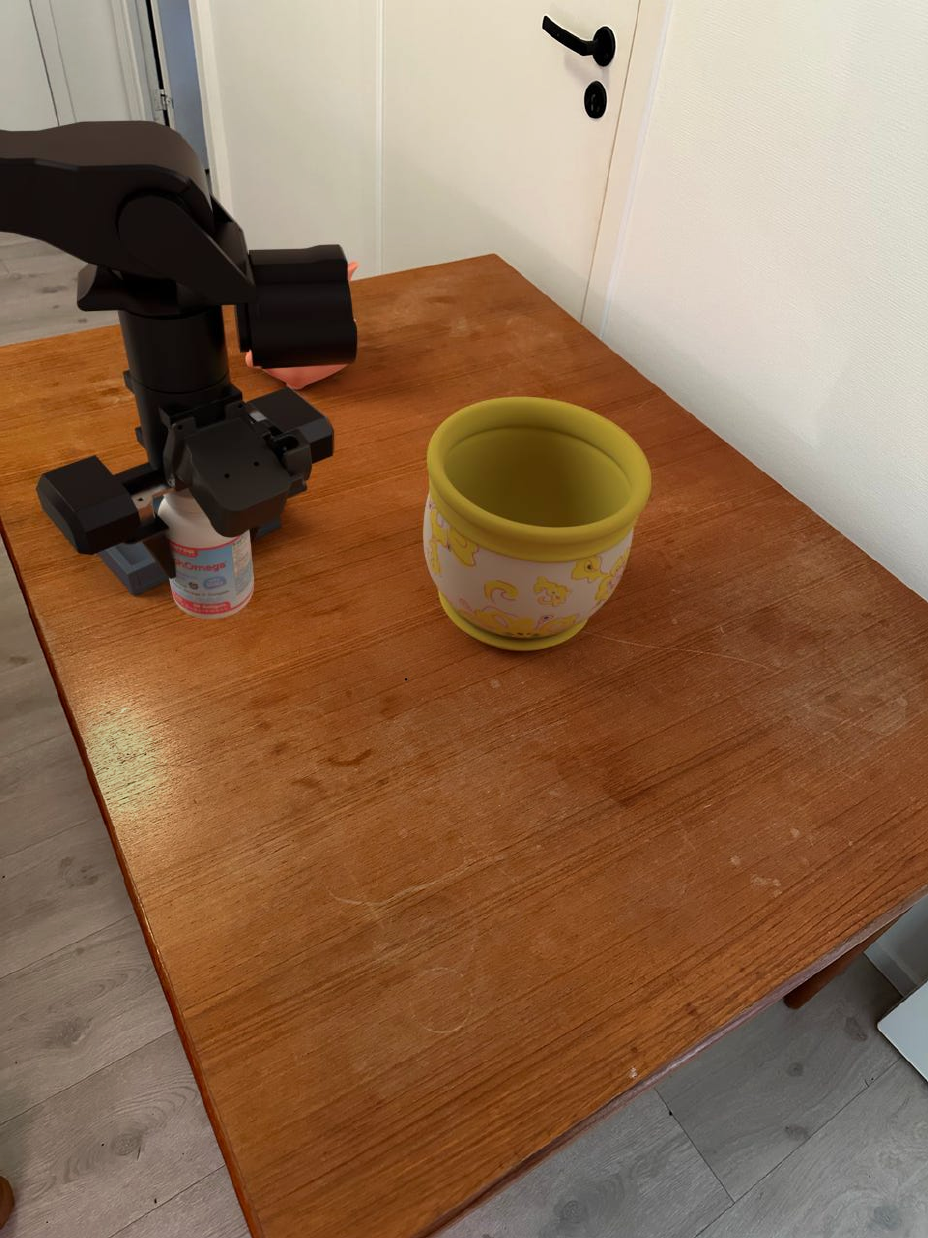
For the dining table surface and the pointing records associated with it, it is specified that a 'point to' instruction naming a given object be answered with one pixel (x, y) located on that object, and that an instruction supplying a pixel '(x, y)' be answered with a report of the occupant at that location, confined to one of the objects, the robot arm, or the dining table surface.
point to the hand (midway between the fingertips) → (210, 557)
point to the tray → (148, 560)
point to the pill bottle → (205, 561)
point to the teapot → (303, 375)
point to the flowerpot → (530, 517)
